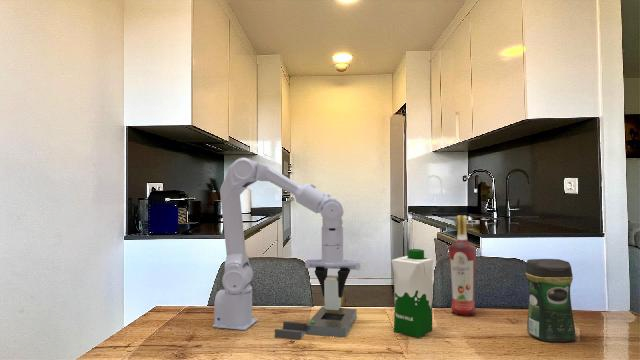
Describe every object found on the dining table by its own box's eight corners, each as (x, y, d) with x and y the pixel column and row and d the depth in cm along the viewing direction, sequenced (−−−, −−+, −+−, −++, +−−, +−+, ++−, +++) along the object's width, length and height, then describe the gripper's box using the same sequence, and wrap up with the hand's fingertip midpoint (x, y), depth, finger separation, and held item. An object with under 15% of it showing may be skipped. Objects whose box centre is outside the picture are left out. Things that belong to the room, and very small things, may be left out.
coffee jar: (561, 331, 96) (559, 256, 97) (581, 343, 88) (579, 262, 89) (521, 330, 96) (520, 256, 97) (538, 343, 88) (536, 261, 89)
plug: (324, 309, 100) (324, 278, 100) (327, 305, 103) (327, 274, 104) (338, 310, 99) (337, 278, 99) (340, 306, 102) (340, 275, 103)
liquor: (479, 311, 112) (477, 215, 112) (474, 319, 105) (472, 216, 106) (453, 308, 115) (451, 214, 116) (447, 314, 109) (445, 216, 110)
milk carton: (437, 330, 97) (436, 250, 97) (420, 340, 90) (418, 255, 91) (406, 322, 103) (405, 247, 103) (388, 331, 96) (387, 251, 97)
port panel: (305, 334, 95) (305, 323, 95) (322, 314, 110) (322, 305, 110) (345, 337, 92) (345, 326, 92) (356, 317, 108) (356, 307, 108)
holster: (274, 338, 93) (274, 329, 93) (284, 329, 99) (284, 321, 99) (300, 340, 91) (300, 332, 91) (308, 331, 97) (308, 323, 98)
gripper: (301, 245, 100) (302, 298, 99) (357, 247, 96) (357, 302, 96) (309, 242, 107) (309, 291, 106) (361, 243, 103) (361, 294, 103)
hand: (332, 296), depth 101 cm, fingers closed on plug, 4 cm apart
